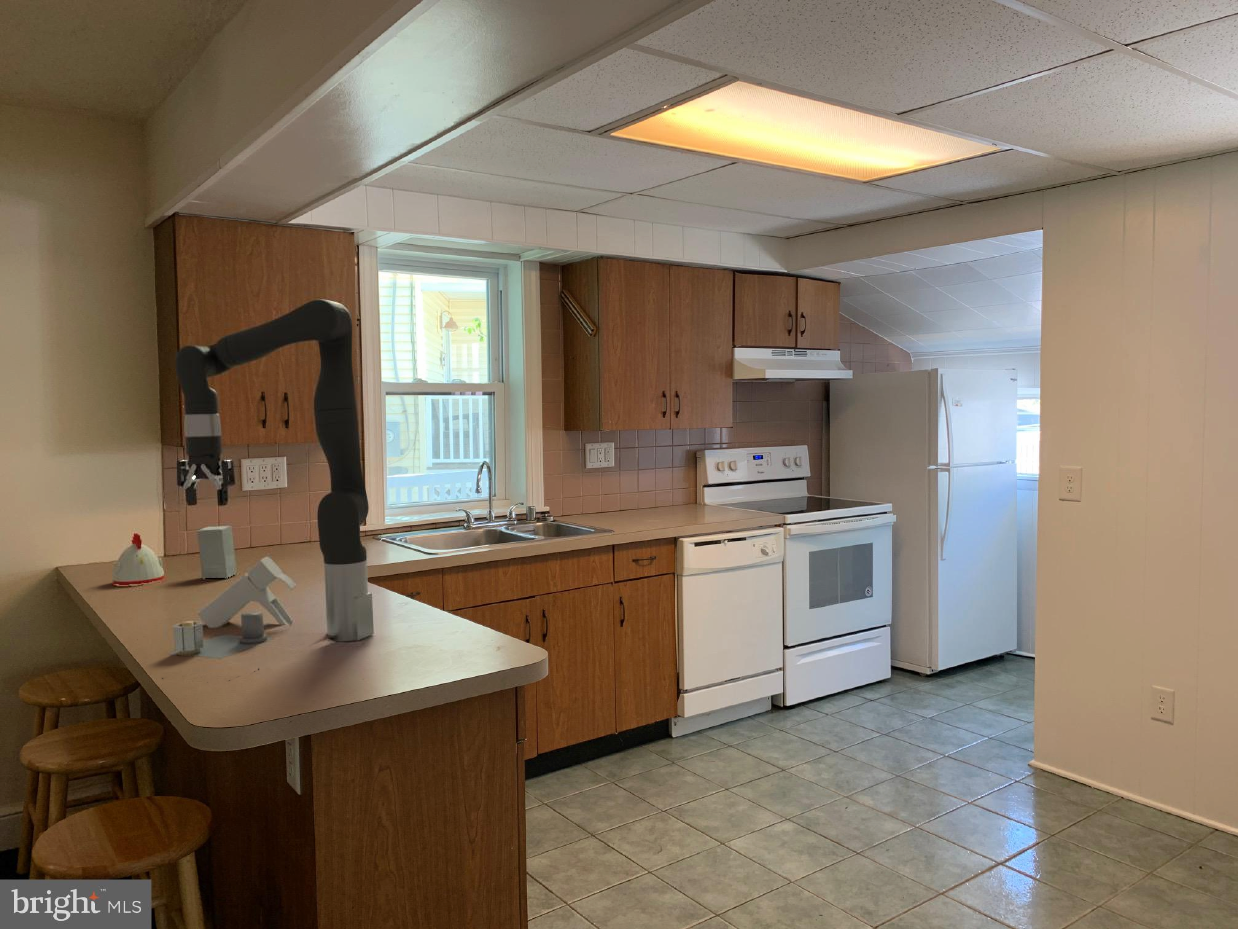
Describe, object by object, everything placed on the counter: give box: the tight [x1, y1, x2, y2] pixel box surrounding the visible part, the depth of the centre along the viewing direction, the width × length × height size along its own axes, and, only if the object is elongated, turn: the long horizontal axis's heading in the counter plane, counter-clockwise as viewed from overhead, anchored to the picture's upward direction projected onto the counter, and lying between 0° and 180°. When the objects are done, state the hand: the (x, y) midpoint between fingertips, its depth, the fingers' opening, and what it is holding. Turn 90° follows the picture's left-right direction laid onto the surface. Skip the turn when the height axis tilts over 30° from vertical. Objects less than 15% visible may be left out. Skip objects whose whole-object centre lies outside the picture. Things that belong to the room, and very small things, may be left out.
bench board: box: [167, 611, 275, 659], centre depth 195 cm, size 14×16×8 cm
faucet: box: [196, 556, 297, 629], centre depth 215 cm, size 6×16×20 cm
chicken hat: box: [112, 533, 165, 585], centre depth 277 cm, size 14×14×15 cm
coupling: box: [173, 620, 204, 652], centre depth 190 cm, size 5×5×5 cm
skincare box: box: [196, 525, 238, 579], centre depth 281 cm, size 8×7×16 cm
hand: (207, 505), depth 208 cm, fingers open, 8 cm apart
